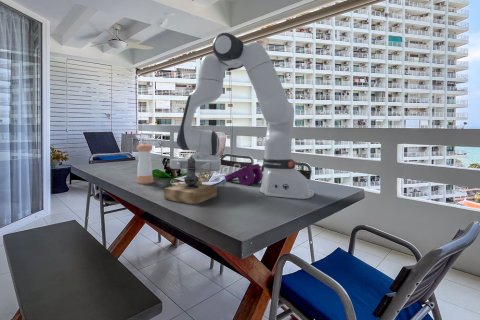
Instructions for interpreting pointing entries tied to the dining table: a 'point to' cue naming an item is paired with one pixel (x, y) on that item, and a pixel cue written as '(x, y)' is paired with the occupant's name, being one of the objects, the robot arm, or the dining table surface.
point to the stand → (190, 193)
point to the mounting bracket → (248, 172)
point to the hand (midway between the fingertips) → (190, 166)
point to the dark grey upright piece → (191, 175)
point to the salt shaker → (144, 164)
